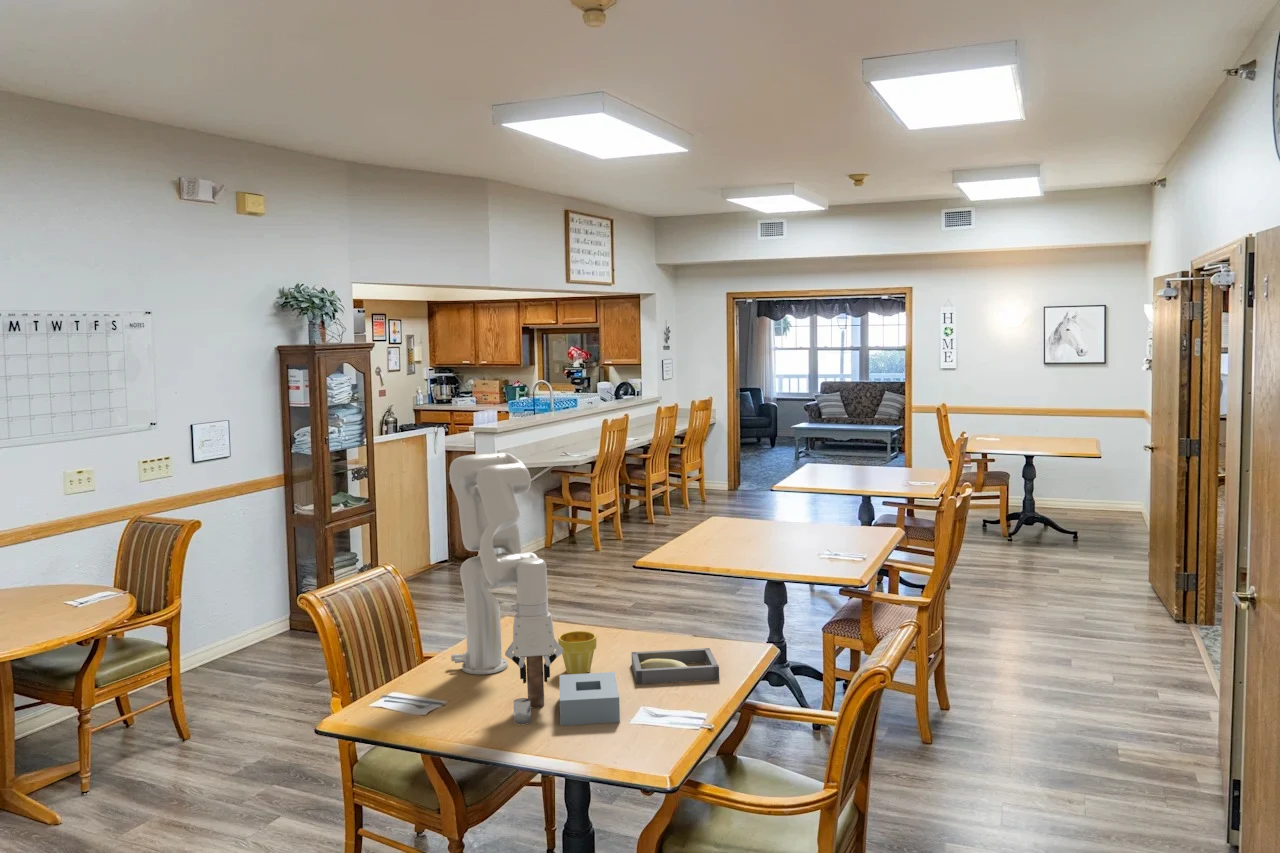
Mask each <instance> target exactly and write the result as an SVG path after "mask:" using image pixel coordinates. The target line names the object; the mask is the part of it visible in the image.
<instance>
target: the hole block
mask: <svg viewBox="0 0 1280 853" xmlns="http://www.w3.org/2000/svg"><path fill="white" fill-rule="evenodd" d="M618 688H619V687H618V683H617V676H616V672H615V671H610V672H609V671H607V672H592V673H589V672H588V673H585V674H569V673H567V674H559V713H560V714H559V715H560V716H559V720H560V721H559V722H560V723H559V724H560V726H561V725H562V726H575V725H576V726H577V725H591V724H593V725H594V724H611V723H612V724H613V723H621V716H620V715H621V712H620V711H621V710H620V709H621V708H620V693H619V689H618Z"/></svg>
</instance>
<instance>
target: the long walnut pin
mask: <svg viewBox="0 0 1280 853" xmlns="http://www.w3.org/2000/svg"><path fill="white" fill-rule="evenodd" d="M543 660H544V657H543V656H534V657H525V661H526V684H527V698H528V699H530V706H531V707H532V708H531V709H539V708H538V707H540V708H543V707H544V706H545V691H544V690H545V689H544V688H545V687H544V686H545V685H544V662H543ZM542 706H543V707H542Z"/></svg>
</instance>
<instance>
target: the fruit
mask: <svg viewBox="0 0 1280 853" xmlns="http://www.w3.org/2000/svg"><path fill="white" fill-rule="evenodd" d="M640 666H641V669H650V668H668V667H687V666H688V665H686V663H682V662H680V661H677V660H672V659H648V660H645V661H643V662H641V663H640Z"/></svg>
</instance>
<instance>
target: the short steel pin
mask: <svg viewBox="0 0 1280 853" xmlns="http://www.w3.org/2000/svg"><path fill="white" fill-rule="evenodd" d="M512 702H513V723H514V724H515V725H518V724H520V725H521V726H523V725H522V724H525V725H528V724H530V723H531V722H532V711H531V709H532V708H531V706H530V699H528V697H521V698H520V697H519V698H516V699H514V700H513V701H512ZM529 722H530V723H529ZM527 723H528V724H527ZM520 725H519V726H520Z"/></svg>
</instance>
